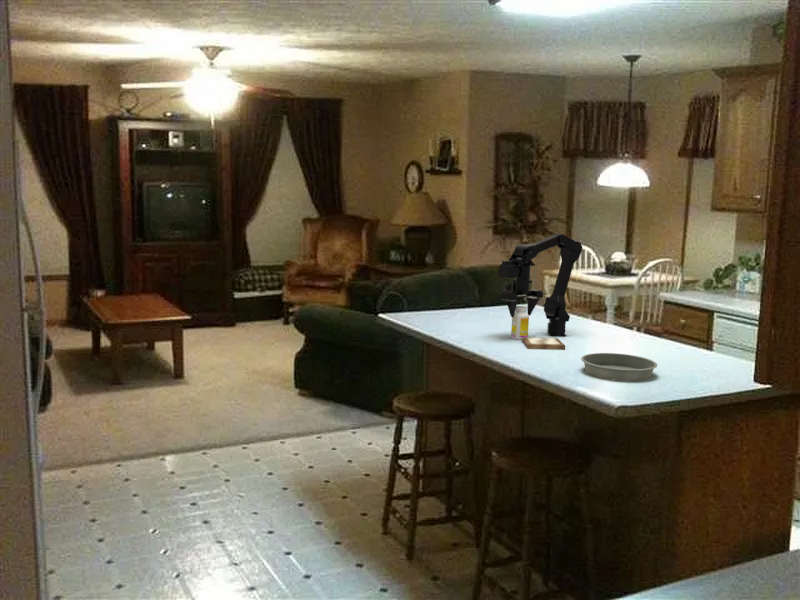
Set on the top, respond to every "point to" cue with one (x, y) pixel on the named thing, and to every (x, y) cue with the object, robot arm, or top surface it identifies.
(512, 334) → the supplement bottle
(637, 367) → the cake pan
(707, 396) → the top surface
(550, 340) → the brown square tray
